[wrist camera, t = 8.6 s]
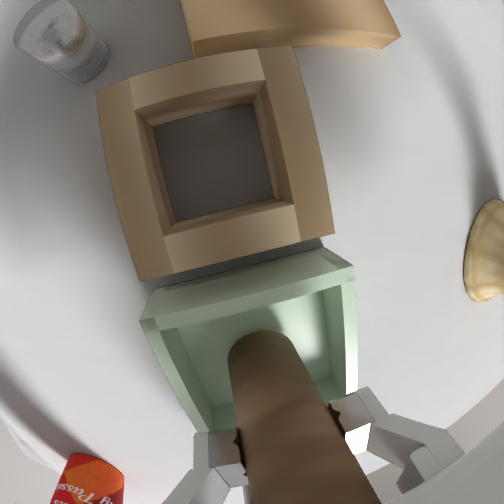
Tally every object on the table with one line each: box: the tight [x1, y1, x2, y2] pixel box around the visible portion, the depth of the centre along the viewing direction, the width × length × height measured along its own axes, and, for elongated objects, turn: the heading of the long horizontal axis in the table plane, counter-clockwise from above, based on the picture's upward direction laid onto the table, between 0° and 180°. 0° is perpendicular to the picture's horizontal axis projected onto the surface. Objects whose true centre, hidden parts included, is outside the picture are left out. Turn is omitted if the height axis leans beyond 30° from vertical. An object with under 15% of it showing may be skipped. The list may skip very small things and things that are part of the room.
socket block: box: [96, 46, 335, 282], centre depth 10 cm, size 7×7×3 cm
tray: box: [139, 247, 358, 433], centre depth 12 cm, size 8×8×3 cm
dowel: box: [227, 330, 381, 504], centre depth 8 cm, size 3×3×9 cm
